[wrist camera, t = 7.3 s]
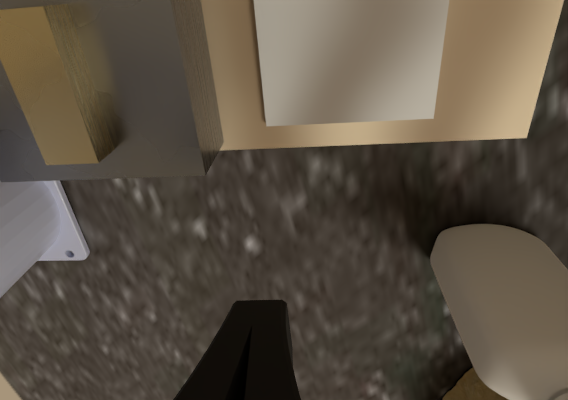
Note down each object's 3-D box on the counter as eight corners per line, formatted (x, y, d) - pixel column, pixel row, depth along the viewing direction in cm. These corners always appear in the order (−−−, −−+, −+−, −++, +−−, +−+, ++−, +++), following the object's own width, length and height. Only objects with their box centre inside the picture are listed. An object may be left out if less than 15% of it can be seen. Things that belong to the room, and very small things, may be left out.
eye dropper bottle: (487, 295, 22) (644, 584, 11) (414, 249, 20) (516, 528, 10) (553, 247, 20) (817, 544, 9) (477, 193, 18) (687, 469, 8)
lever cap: (52, 149, 15) (-22, 197, 12) (-22, -27, 12) (-150, -29, 9) (223, 142, 14) (196, 191, 11) (192, -47, 11) (142, -57, 8)
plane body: (62, 133, 18) (16, 161, 15) (-4, -37, 15) (-80, -40, 12) (493, 112, 16) (530, 141, 13) (536, -89, 13) (599, -108, 10)
